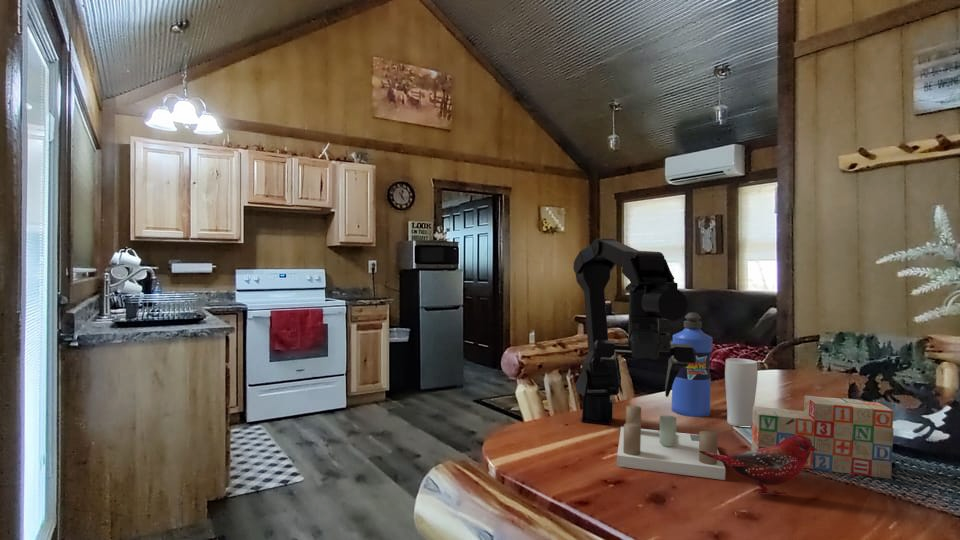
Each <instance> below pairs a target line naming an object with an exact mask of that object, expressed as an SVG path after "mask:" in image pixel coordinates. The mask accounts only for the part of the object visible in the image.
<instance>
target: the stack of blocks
mask: <svg viewBox="0 0 960 540" xmlns="http://www.w3.org/2000/svg"><path fill="white" fill-rule="evenodd" d="M803 405H804V406H803V407H804V408H803V410H794V409H786V408H785V409H784V408H776V407H765V406H755V405H754V406H753V417H752V426H751V450H756V449H762V448H768V447H772V446H775V445H777V444H779V443H780V442H782V441H783V440H785V439H786V438H789V437H792V436H795V435H803V436H805V437H806V438H807V439H808V440H809V441H810V443H811V445H812V446H813V447H815V448H816V449H817V451H811V452H810V455H809V458H808V459H807V461H806V462H805V464H804V467H803V469H808V470H819V471H825V472H826V471H827V472H835V473H845V474H851V475H861V476H868V477H875V478H882V479H883V478H884V479H890V480H891V479H892V469H893V468H892V465H893V462H892V460H893V445H894V431H895V430H894V426H893V425H894V410H893V409H891V408H889V407H888V406H886V405H884V404H882V403H881V402H877V401H867V400H860V399H855V398H854V399H853V398H839V397H838V398H836V397H826V396H824V397H823V396H812V395H804V404H803Z"/></svg>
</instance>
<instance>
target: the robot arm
mask: <svg viewBox="0 0 960 540" xmlns="http://www.w3.org/2000/svg"><path fill="white" fill-rule="evenodd" d="M616 265H617V266H619V267H620V268H621V273H622V274H623V275H624V276H625V278H627V280H629V282H630V283H628V284H627V285H626V287H625V289H624V290H625V291H627V292H629V293H628V328H627V329H628V330H627V332H628V333H627V334H628V335H627V344H615V342H616V341H615V340H612V339H609V329H608V318H607V317H608V316H607V306H606V304H607V303H606V292H605V291H606V287H607V285H608V283H609V282H610V279H611V272H612V270H613V269H614V267H615V266H616ZM573 271H574V274H575V278H576V279H575V280H576V283H577V284H578V285H579V287H580V288H581V290H582V291H583V294H584V297H583V298H584V310H585V321H586V337H587V347H588V348H587V351H588V352H587V353H586V356H585V358H584V360H583V361H582V365H581V368H582V371H581V373H580V374H579V377H578V378H577V380H576V381H575V390H576V393H577V394H579V395H581V396H582V408H581V409H582V414H581V415H582V416H581V419H580V422H583V423H592V424H600V425H601V424H602V425H611V421H612V420H613V418H614V417H613V416H614V400H613V399H612V396H618V395H619V393H620V386H621V380H622V375H621V371H620V360H619V358H618V357H617V356H616V355H628V356H630V355H631V357H633V358H634V359H638V360H639V359H649V360H653V361H654V360H658V359H659V358H660V357H666V358H668V363H667V371H666V379H665V392H664V393H665V394H664V395H665V397H666V398H668V397H669V396H670V394H671V392H672V385H673V383H674V380H675V378H676V376H677V374H678V372H679V371H680V370H681V368H682V367H688V363H696V351H695V350H694V349H693V348H692V347H691V346H690V345H689V344H673V342H672V343H671V332H661V331H660V319H661V320H666V321H670V322H671V321H672V322H675V321H678V320H680V319H682V318H683V317H685V316H684V315H685V314H686V313H687V310H688V305H689V304H688V300H687V298H686V296H685V295H684V293H683V292H682V291H681V290H679V288H678V287H679V286H678V284H679V283H678V282H675V277H674V275H673V273H672V271H671V270H670V267H669V264H668V261H667V259H666V258H665V255H664V254H663V253H662V252H660V251H650V250H649V251H648V250H638V249H635V248H633V247H631V246H629V245H627V244H624V243H622V242H619V241H618V240H617V239H615V238H609V237H608V238H607V237H606V238H605V237H604V238H603V237H601V238H600V237H598V238H596V239H594V240H593V241H592V242H591V244H590V245H588V246H586V247H585V248H584V249H581V250H580V251H579V253H578V254H577V256H576V257H575V258H574V261H573Z"/></svg>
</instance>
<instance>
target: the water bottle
mask: <svg viewBox="0 0 960 540" xmlns="http://www.w3.org/2000/svg"><path fill="white" fill-rule="evenodd" d="M684 318H685V319H686V320H684V321H683V328H684V329H683V330H681V331H679V332H677V333H674V334H673V335H672V344H689V345H690V346H691V347H692V348H693V349H694V350H695V351H696V363H688V367H682V368H681V370H680V371H679V372H678V374H677V376H676V378H675V380H674V383H673V385H672V388H671V411H672V412H673V413H675V414H677V415H680V416H687V417H692V418H693V417H694V418H702V417H703V418H705V417H708V416H710V415H711V386H712V383H711V381H712V378H711V372H710V363H711V358H712V357H711V356H712V352H713V337H712V336H710V335H708V334H706V333H705V332H704V331H702V328H703V327H702V324H703V323H702V321H700V320H701V319H702V317H701V315H699V313H698V312H693V311H692V312H691V311H690V312H688V313H687V314H686V315H685V316H684Z"/></svg>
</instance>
